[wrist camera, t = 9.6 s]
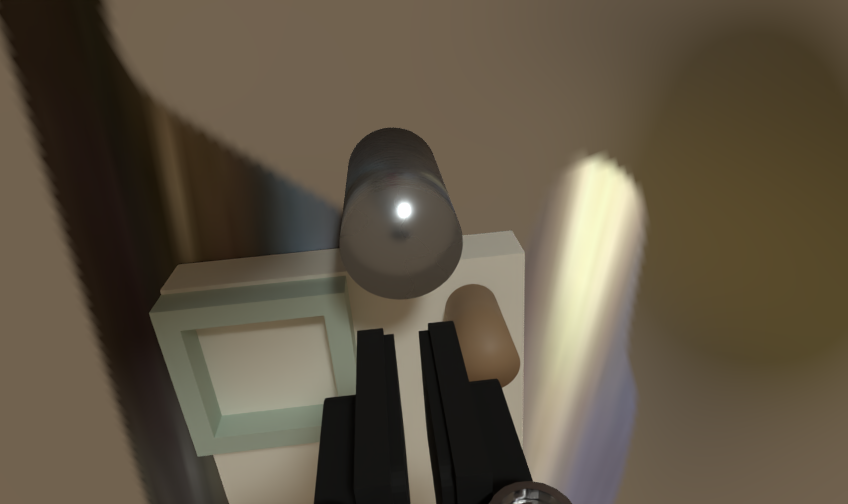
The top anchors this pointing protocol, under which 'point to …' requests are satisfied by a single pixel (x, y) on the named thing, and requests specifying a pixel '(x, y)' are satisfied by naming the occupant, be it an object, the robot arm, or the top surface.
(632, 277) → the top surface
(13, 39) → the top surface
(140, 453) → the top surface
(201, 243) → the top surface
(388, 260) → the leg peg
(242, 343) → the seat board
